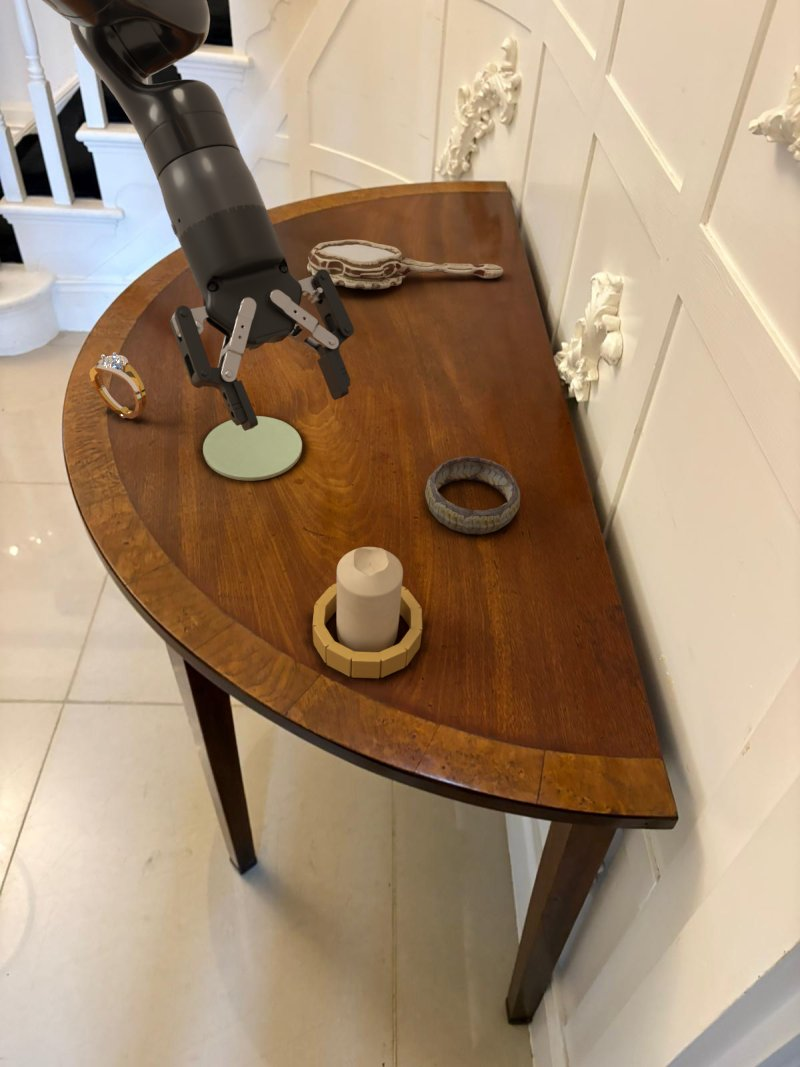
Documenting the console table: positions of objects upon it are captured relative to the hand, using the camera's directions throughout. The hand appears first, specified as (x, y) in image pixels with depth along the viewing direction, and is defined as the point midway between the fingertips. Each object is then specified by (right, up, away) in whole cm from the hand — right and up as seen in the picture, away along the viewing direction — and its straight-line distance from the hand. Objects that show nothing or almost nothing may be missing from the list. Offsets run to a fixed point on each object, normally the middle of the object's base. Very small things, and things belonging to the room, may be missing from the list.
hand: (298, 411), depth 65 cm
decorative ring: (+16, -7, +19) cm, 26 cm away
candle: (+6, -19, +6) cm, 21 cm away
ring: (-24, +3, +26) cm, 36 cm away
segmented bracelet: (+6, -19, +6) cm, 21 cm away
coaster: (-8, -1, +23) cm, 25 cm away
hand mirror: (+10, +28, +54) cm, 61 cm away
